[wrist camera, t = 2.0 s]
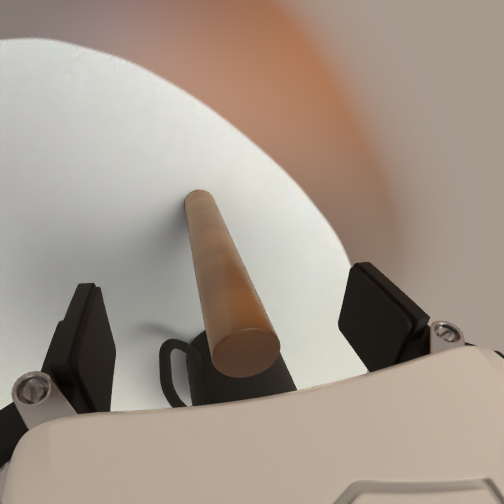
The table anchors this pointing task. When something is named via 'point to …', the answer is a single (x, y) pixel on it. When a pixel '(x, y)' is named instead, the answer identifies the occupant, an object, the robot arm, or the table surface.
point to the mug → (218, 377)
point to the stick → (227, 295)
